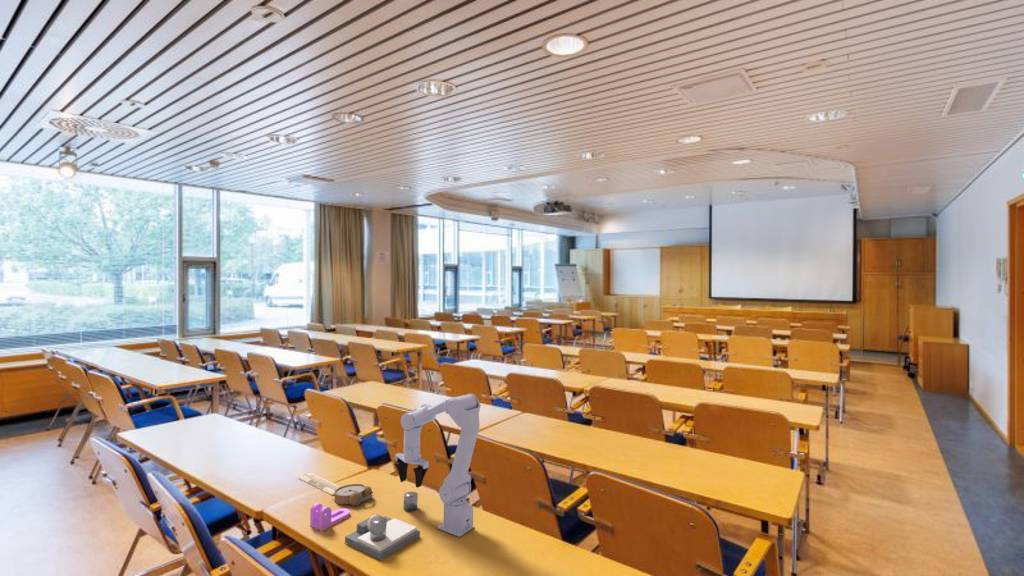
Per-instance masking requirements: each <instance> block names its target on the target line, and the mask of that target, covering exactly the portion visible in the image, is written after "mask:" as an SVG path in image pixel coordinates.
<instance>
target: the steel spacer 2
mask: <svg viewBox="0 0 1024 576" xmlns="http://www.w3.org/2000/svg"><path fill="white" fill-rule="evenodd" d="M418 499H419V493H418V492H416V491H407V492H405V493H404V495H403V511H405V512H407V513H411V512H412V511H413V512H415V511H417V510H418V502H419V501H418ZM413 512H412V513H413Z"/></svg>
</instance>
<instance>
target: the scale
mask: <svg viewBox="0 0 1024 576" xmlns="http://www.w3.org/2000/svg"><path fill="white" fill-rule="evenodd" d="M377 517H383V518H386V519H387V527H386V538H385V539H384V540H382V541H378V542H375V541H371V540H370V521H371V520H372V519H374V518H377ZM420 535H421V531H420V530H419V529H417V526H415V525H412V524H410V523H407V522H404V521H402V520H400V519H398V518H396V517H394V518H390V517H387V516H382V515H380V514H377V513H376V514H374V515H372V516H370V517H368V518H366V519H364V520H362V521H360V522H359V523H357V524H356V530H355V531H352V533H350V534H347V535H345V537H344V544H346V543H347V544H346V545H348V544H349V545H348V546H350V545H351V546H350V547H352V546H353V548H354V549H356V550H359V551H360V552H363V553H364V554H366V555H369V556H370V557H373V558H374V559H377V560H379V561H383V560H384V559H386V558H388V557H389V556H391V555H392V554H394V553H395V552H397V551H398V550H401V549H403V548H404V547H405V546H407V545H409V544H411V543H413V542H414V541H415V540H417V539H419V538H420V537H421V536H420Z"/></svg>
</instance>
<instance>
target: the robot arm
mask: <svg viewBox="0 0 1024 576" xmlns="http://www.w3.org/2000/svg"><path fill="white" fill-rule="evenodd" d="M481 406H482V405H481V403H480V402H479V399H478V397H477V396H476V395H475V394H474V393H467V394H464V395H459V396H458V395H457V396H454V397H451V398H447V399H444V400H441V401H440V402H438V403H436V404H434V405H431V404H427V403H424V404H421V405H420V407H419V408H414V409H412V411H410V412H405V413H404V414H403V415H401V418H400V426H401V427H402V429H403V452H402V453H401V452H398V453H396V454H395V455H394V460H395V462H394V466H395V468H396V469H397V472H398V476H399V477H398V478H399V480H400V483H404V482H405V481H407V477H408V467H409V465H410V464H411V465H415V466H417V467H415V468H413V472H414V476H415V487H416V488H417V489H418V488H420V487H422V486H423V481H424V478H425V475H426V474H427V471H428V470H429V463H430V462H429V461H427V460H425V459H424V458H422V455H421V432H422V429H423V426H424V425H426V424H428V423H431V422H433V421H434V420H435V419H436V417H437V416H438V415H439V414H442V413H445V414H447V415H449V417H450V419H452V421H453V422H454V423H455V425H457V427H459V428H460V433H459V438H458V441H457V445H456V449H455V453H454V458H453V461H452V464H451V470H450V472H449V474H448V475H446V477H445V478H444V479H443V482H442V485H440V487H439V490H438V496H439V497H440V500H441V501H442V503H443V523H441V524H440V525H438V526H437V529H439V530H441V531H443V532H446V533H449V534H451V535H454V536H456V537H458V538H460V537H462V536H464V535H465V534H466V533H468V532H469V531H471V530H472V529H474V528H475V525H474V508H473V505H471V504H469V502H467V499H468V495H469V494H470V493H471V490H472V484H471V482H472V477H471V475H470V474H469V469H470V465H471V463H472V457H473V453H474V449H475V446H476V442H477V438H478V435H479V430H480V415H479V414H480V409H481Z"/></svg>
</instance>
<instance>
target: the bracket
mask: <svg viewBox="0 0 1024 576" xmlns="http://www.w3.org/2000/svg"><path fill="white" fill-rule="evenodd" d="M350 511H351V510H350V509H349V508H347V507H346V508H344V507H343V508H342V507H341V508H337V509H335V510H332V508H331V507H329V506H327V505H325V506H323V504H322V503H319V502H316V503H315V502H314V504H312V506H311V508H310V513H309V515H310V522H309V526H310V527H311V526H312V527H311V528H313V527H314V529H316V528H317V529H316V530H318V529H319V531H320V530H323V531H324V529H325V530H326V529H328V528H330V527H332V526H334V525H336V524H338V523H339V522H342V521H344V520H346V519H348V518H349V517H350V516H349V515H350V514H351V513H350ZM347 517H348V518H347ZM345 518H346V519H345ZM343 519H344V520H343Z"/></svg>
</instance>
